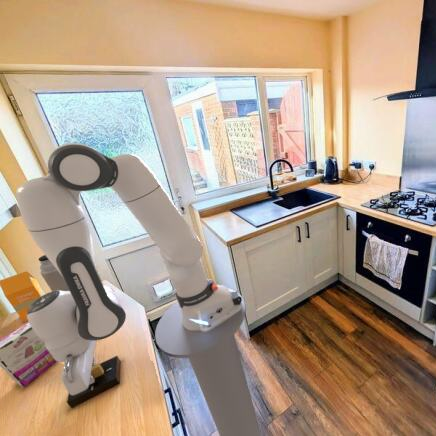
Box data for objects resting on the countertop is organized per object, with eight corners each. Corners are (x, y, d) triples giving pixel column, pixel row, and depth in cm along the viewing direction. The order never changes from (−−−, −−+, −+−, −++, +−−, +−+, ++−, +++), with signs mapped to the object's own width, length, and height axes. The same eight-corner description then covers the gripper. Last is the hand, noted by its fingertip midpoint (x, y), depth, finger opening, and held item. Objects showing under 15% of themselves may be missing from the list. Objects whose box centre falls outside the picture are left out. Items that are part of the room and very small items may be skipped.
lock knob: (103, 370, 77) (98, 362, 75) (103, 374, 76) (98, 366, 74) (84, 379, 75) (78, 371, 73) (83, 383, 73) (78, 375, 72)
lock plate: (120, 361, 83) (117, 354, 81) (119, 384, 75) (115, 377, 74) (77, 382, 77) (72, 375, 76) (71, 409, 70) (66, 402, 69)
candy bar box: (54, 353, 88) (30, 320, 82) (63, 356, 87) (39, 322, 80) (15, 384, 79) (-17, 349, 72) (24, 388, 77) (-7, 353, 71)
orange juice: (25, 313, 111) (-1, 277, 102) (50, 302, 116) (28, 267, 108) (23, 322, 105) (-4, 285, 97) (50, 310, 110) (26, 274, 102)
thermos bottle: (62, 317, 105) (27, 263, 94) (73, 304, 113) (42, 252, 101) (82, 313, 106) (50, 259, 95) (92, 300, 114) (63, 249, 102)
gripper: (79, 366, 62) (101, 398, 68) (90, 316, 79) (107, 346, 84) (47, 380, 59) (73, 413, 65) (65, 325, 76) (85, 355, 81)
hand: (92, 375), depth 75 cm, fingers open, 3 cm apart
